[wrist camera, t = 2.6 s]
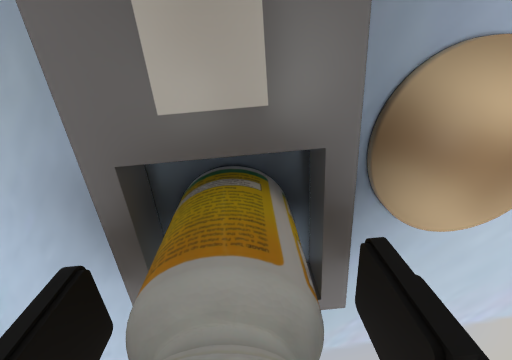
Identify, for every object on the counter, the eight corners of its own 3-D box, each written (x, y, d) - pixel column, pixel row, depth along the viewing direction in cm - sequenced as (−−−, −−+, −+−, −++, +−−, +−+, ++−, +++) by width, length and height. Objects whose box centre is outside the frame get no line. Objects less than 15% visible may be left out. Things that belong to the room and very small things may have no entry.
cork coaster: (378, 44, 11) (385, 44, 10) (602, 25, 11) (622, 23, 10) (359, 232, 14) (364, 239, 14) (525, 216, 14) (536, 223, 14)
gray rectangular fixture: (38, -81, 9) (-52, -141, 6) (347, -106, 9) (394, -178, 6) (156, 287, 15) (138, 335, 13) (330, 270, 15) (348, 314, 13)
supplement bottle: (309, 210, 14) (426, 480, 5) (236, 269, 15) (228, 561, 6) (231, 137, 12) (202, 359, 3) (157, 212, 13) (-4, 507, 5)
